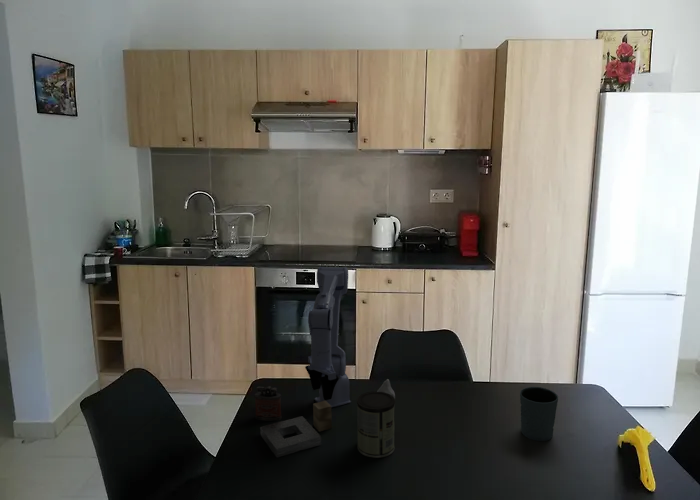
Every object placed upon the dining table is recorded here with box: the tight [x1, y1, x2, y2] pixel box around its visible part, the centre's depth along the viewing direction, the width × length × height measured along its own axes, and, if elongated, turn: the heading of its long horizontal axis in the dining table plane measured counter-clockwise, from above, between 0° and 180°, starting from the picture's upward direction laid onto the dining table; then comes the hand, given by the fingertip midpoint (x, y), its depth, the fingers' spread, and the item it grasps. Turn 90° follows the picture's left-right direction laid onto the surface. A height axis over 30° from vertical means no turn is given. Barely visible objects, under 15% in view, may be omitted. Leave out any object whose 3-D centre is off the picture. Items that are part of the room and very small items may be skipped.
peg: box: [312, 401, 333, 432], centre depth 154 cm, size 4×4×7 cm
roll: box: [377, 378, 396, 399], centre depth 160 cm, size 6×12×6 cm
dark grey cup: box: [519, 386, 559, 442], centre depth 149 cm, size 10×10×12 cm
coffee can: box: [356, 390, 396, 459], centre depth 142 cm, size 10×10×14 cm
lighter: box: [254, 385, 282, 421], centre depth 159 cm, size 8×3×10 cm, turn 84°
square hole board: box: [259, 415, 322, 458], centre depth 147 cm, size 13×13×2 cm
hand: (322, 394), depth 152 cm, fingers open, 7 cm apart
